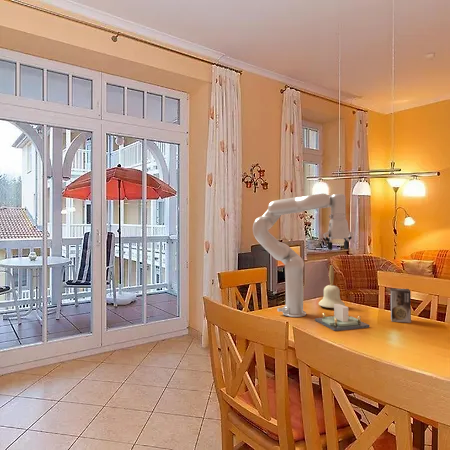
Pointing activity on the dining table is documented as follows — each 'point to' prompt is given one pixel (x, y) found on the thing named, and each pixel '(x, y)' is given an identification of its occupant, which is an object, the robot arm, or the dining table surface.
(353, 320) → the board
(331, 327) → the plate
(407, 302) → the coffee box
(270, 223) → the robot arm
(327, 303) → the handbell
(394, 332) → the dining table surface
